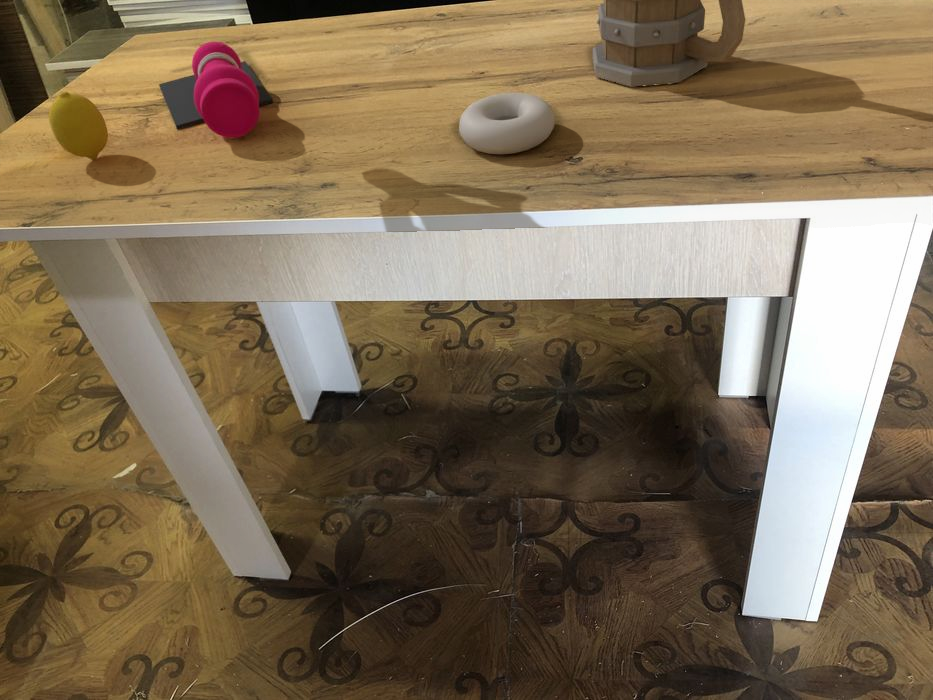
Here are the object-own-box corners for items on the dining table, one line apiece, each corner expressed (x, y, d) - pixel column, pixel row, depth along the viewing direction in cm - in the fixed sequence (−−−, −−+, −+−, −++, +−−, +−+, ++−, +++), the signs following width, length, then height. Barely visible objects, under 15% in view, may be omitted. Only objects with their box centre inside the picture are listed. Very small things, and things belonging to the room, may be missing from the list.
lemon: (122, 144, 92) (93, 78, 86) (114, 165, 87) (83, 97, 82) (75, 152, 91) (43, 87, 86) (64, 174, 87) (30, 106, 82)
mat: (177, 129, 93) (175, 125, 93) (160, 87, 105) (158, 84, 104) (273, 102, 96) (272, 98, 96) (246, 64, 107) (245, 60, 107)
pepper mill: (195, 139, 87) (184, 81, 101) (261, 144, 89) (241, 87, 104) (197, 74, 83) (185, 24, 97) (266, 82, 85) (244, 32, 100)
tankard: (571, 71, 92) (568, -67, 83) (639, 37, 98) (644, -96, 88) (715, 112, 80) (731, -44, 70) (783, 71, 86) (806, -80, 76)
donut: (443, 154, 80) (530, 166, 76) (438, 123, 78) (527, 133, 74) (488, 113, 87) (571, 122, 82) (485, 83, 84) (569, 90, 80)
